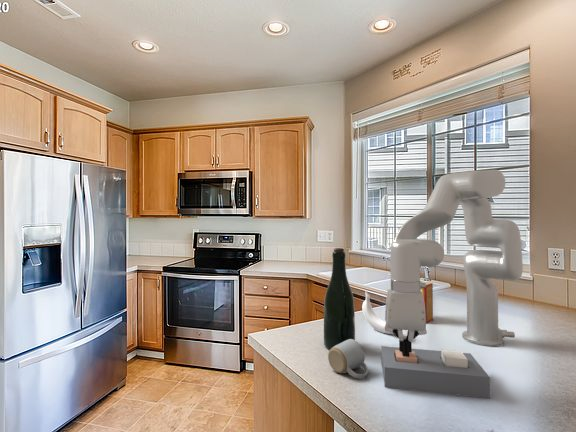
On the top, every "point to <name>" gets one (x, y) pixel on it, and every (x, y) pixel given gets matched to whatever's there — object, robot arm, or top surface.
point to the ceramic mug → (347, 358)
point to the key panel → (434, 374)
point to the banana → (373, 316)
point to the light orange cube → (405, 357)
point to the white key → (454, 358)
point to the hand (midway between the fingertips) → (405, 354)
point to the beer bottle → (338, 304)
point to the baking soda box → (428, 301)
